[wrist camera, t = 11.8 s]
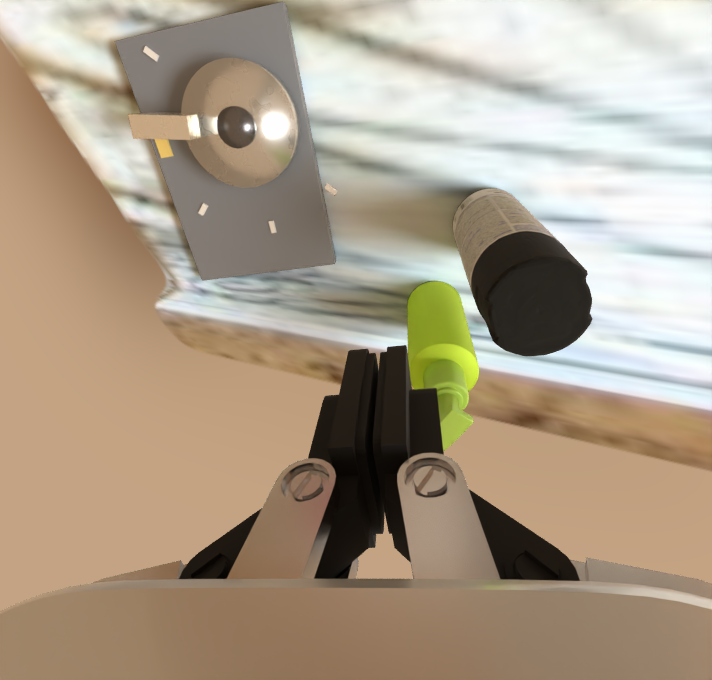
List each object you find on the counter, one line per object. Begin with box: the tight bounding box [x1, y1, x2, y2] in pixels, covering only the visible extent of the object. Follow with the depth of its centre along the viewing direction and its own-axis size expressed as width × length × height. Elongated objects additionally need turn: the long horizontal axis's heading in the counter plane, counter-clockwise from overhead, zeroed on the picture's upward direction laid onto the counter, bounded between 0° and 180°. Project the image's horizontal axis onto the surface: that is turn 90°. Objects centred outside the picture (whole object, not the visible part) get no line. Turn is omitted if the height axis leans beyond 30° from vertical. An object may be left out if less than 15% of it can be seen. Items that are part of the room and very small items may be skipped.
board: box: [115, 2, 338, 280], centre depth 41 cm, size 22×17×1 cm
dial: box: [128, 58, 300, 188], centre depth 37 cm, size 14×10×4 cm
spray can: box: [453, 188, 592, 356], centre depth 33 cm, size 7×7×20 cm
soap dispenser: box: [407, 281, 479, 451], centre depth 39 cm, size 6×7×20 cm
